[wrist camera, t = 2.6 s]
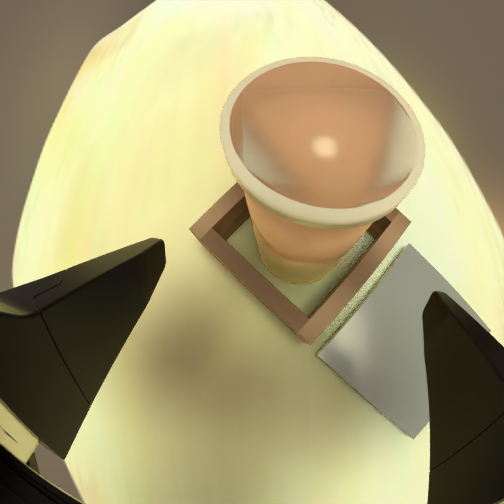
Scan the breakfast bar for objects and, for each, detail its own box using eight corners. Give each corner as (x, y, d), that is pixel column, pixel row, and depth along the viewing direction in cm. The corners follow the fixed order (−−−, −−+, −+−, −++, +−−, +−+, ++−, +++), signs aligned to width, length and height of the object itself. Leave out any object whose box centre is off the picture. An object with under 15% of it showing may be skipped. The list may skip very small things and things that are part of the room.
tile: (408, 435, 17) (413, 439, 16) (315, 354, 19) (317, 355, 18) (483, 330, 18) (490, 330, 17) (404, 247, 20) (409, 243, 19)
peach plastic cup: (339, 296, 20) (428, 241, 7) (244, 278, 21) (192, 197, 8) (353, 181, 22) (408, 49, 9) (269, 166, 23) (257, 22, 10)
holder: (304, 342, 19) (310, 344, 16) (202, 244, 21) (188, 228, 18) (392, 238, 20) (411, 221, 17) (294, 156, 23) (295, 129, 19)
